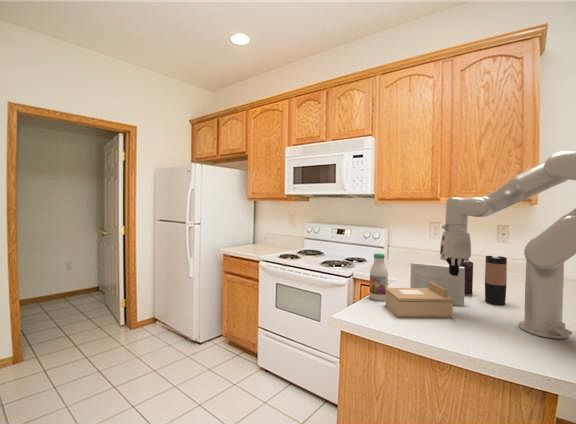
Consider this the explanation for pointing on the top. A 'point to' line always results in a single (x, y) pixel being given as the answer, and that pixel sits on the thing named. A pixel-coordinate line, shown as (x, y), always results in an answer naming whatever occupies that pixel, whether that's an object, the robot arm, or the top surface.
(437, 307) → the mailer box
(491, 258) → the travel mug
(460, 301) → the skincare box
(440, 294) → the lid
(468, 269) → the supplement box
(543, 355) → the top surface
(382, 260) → the milk bottle
